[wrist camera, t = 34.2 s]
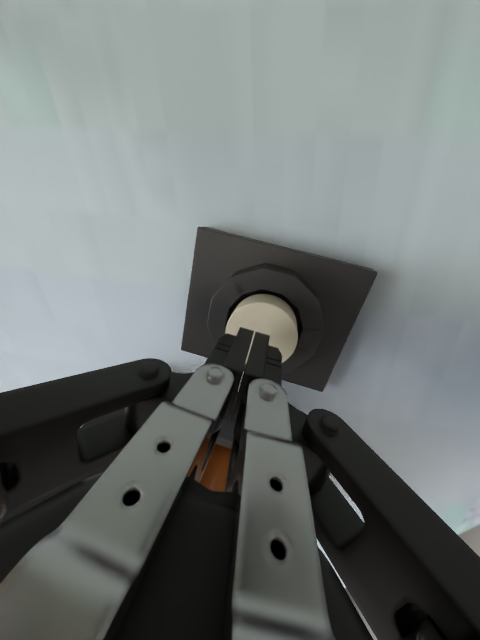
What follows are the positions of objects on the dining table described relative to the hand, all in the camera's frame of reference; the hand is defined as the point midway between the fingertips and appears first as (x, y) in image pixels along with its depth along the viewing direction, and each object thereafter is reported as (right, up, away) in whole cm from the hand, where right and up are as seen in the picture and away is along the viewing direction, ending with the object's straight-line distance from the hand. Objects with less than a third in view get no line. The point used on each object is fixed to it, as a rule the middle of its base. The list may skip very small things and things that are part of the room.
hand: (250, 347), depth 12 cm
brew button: (+1, +1, +3) cm, 3 cm away
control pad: (+1, +2, +5) cm, 6 cm away
